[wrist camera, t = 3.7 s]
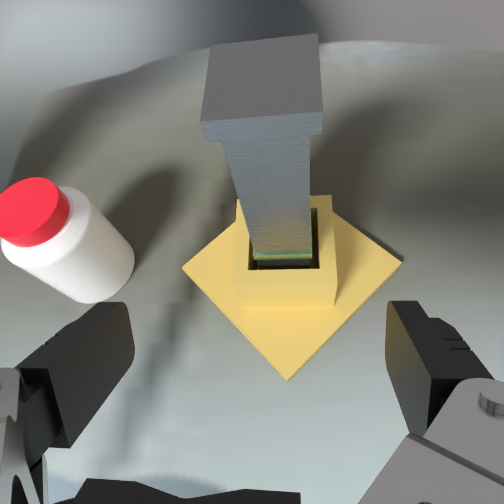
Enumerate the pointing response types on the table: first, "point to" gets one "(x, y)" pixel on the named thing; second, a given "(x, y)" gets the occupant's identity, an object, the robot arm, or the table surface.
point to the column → (268, 138)
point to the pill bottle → (63, 240)
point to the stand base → (293, 286)
